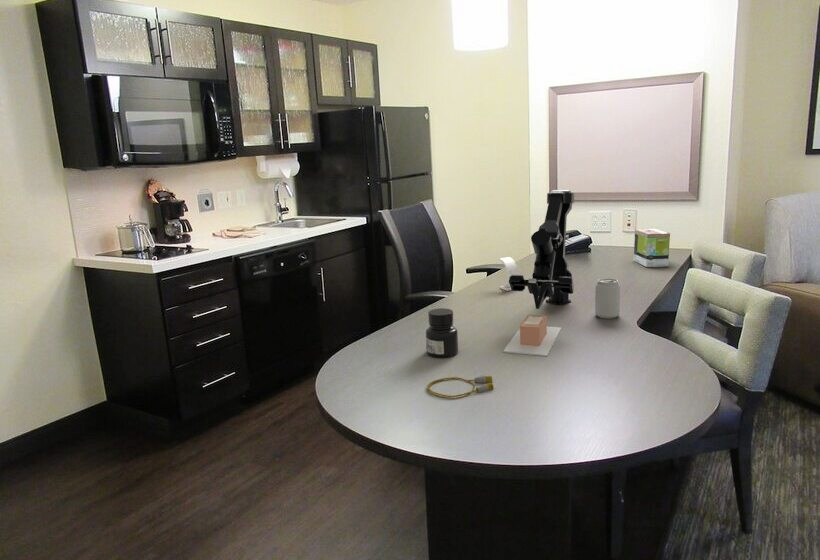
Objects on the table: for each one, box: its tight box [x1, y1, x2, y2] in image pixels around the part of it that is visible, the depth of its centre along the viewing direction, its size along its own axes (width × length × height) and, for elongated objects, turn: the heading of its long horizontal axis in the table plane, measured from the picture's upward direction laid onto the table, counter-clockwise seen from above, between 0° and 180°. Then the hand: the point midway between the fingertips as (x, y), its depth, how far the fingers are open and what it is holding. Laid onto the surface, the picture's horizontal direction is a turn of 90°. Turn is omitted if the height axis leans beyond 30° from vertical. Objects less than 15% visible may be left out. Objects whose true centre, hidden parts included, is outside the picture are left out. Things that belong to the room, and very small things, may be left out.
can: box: [594, 277, 621, 320], centre depth 184 cm, size 8×8×12 cm
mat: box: [502, 326, 562, 357], centre depth 167 cm, size 24×12×1 cm, turn 157°
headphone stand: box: [498, 256, 519, 292], centre depth 224 cm, size 5×6×12 cm
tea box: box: [633, 228, 671, 268], centre depth 253 cm, size 15×10×15 cm, turn 179°
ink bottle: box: [425, 307, 459, 359], centre depth 160 cm, size 10×9×12 cm
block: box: [519, 314, 548, 346], centre depth 166 cm, size 6×6×11 cm
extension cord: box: [426, 375, 495, 400], centre depth 137 cm, size 12×16×2 cm
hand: (537, 308), depth 170 cm, fingers closed
